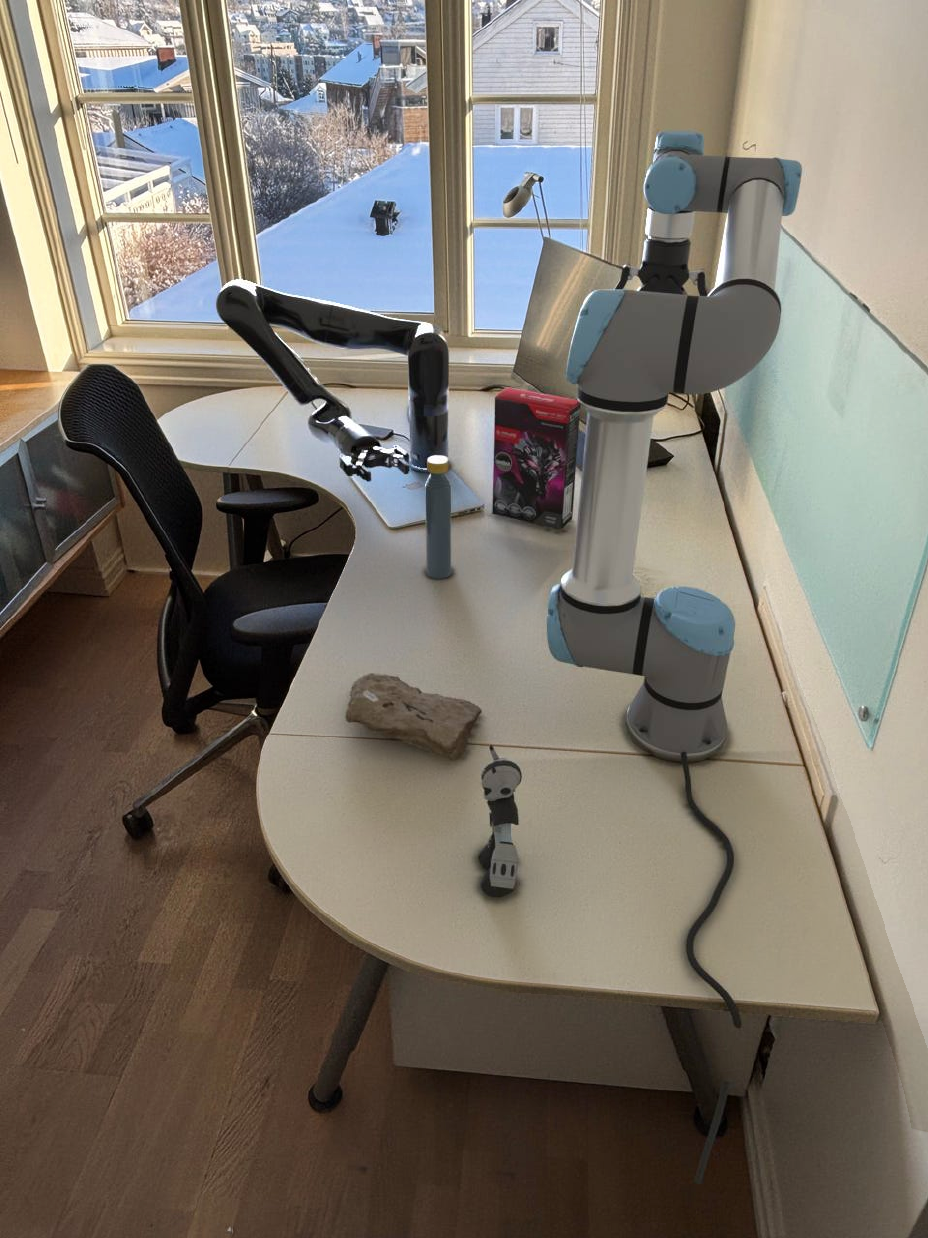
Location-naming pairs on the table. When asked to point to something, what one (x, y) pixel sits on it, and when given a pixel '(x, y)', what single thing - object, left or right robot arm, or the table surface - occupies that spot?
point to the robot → (500, 825)
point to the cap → (437, 464)
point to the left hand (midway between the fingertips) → (388, 473)
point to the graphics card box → (535, 457)
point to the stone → (412, 714)
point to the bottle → (438, 525)
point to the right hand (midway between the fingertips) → (652, 364)
